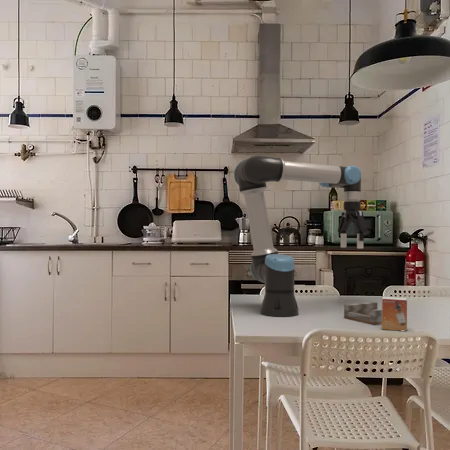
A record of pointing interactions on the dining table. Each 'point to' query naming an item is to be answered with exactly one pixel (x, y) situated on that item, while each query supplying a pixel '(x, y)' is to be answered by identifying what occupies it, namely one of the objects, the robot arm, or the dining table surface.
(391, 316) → the small box
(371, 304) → the cradle
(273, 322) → the dining table surface
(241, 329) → the dining table surface
